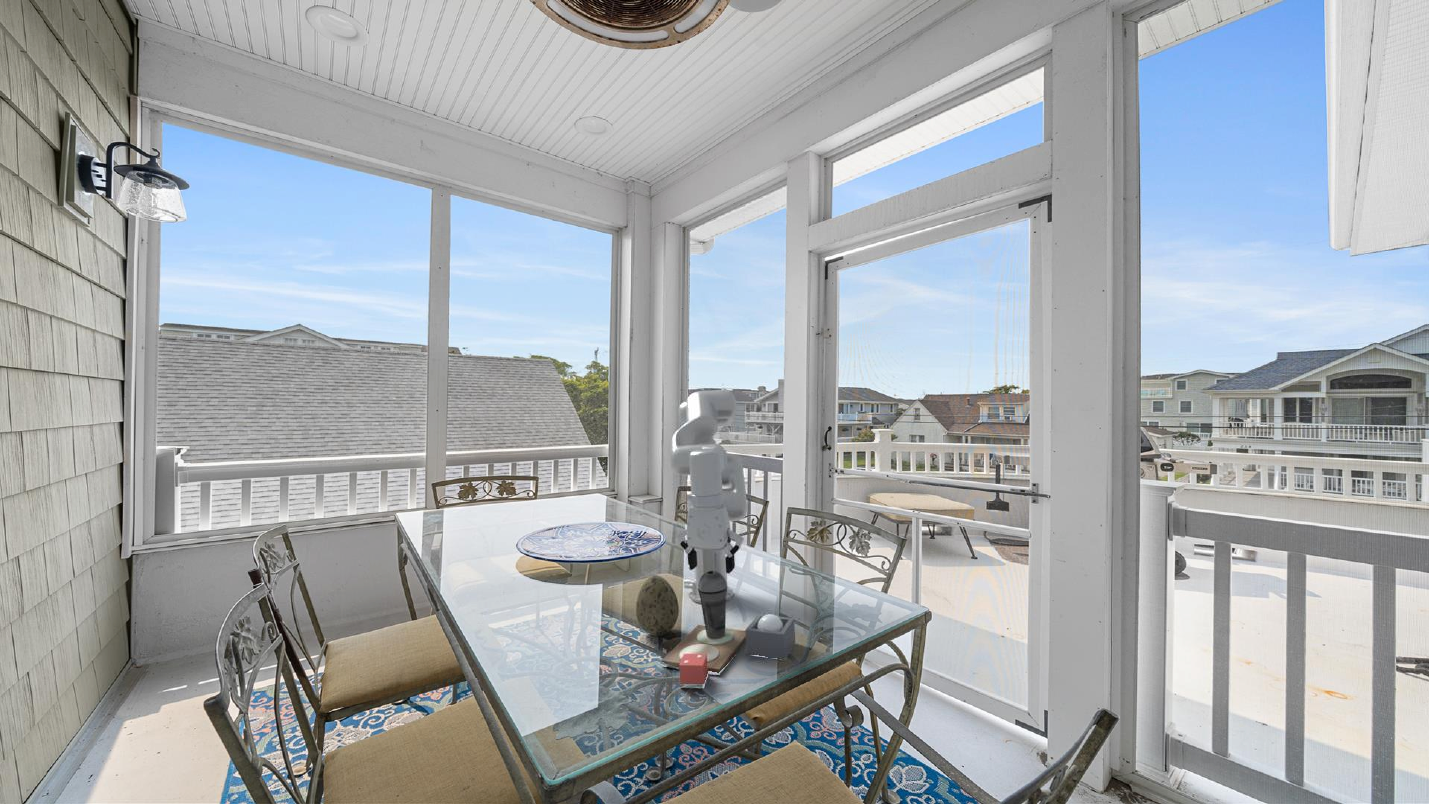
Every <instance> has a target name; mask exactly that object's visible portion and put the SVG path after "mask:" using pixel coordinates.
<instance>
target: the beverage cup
mask: <svg viewBox="0 0 1429 804" xmlns="http://www.w3.org/2000/svg"><path fill="white" fill-rule="evenodd" d="M715 567H716V553H714V565H713V571H708V572H706V573H704V574H703V575H702V577H701V578H700V580H699V584H698V591H699V596H700V599H701V603H700V604H701V609H702V616H703V623H704V626H705V630H706V634H707V637H708V638H710V639H719V638H722V637H724V636H725V628H726V622H727V621H726V616H727V615H726V614H727V613H726V611H727V610H726V609H727V604H726V603H727V601H726V594H727V585H728V583H727V584H726V580H725V578H724V577H723V576H722V575H721V574H720V573H719V572H717V571H715Z"/></svg>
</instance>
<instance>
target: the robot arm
mask: <svg viewBox="0 0 1429 804" xmlns="http://www.w3.org/2000/svg"><path fill="white" fill-rule="evenodd" d="M687 397H688V398H687V399H686V401H684V402H681V404H680V405H679V406H678V419H679V424H680V427H679V428H678V429H677V430H676V432H675V433H674V434H673V436H672V438H671V441H670V455H669V456H670V457H669V458H670V459H669V460H670V461H669V462H670V466H671V469H672V471H673V472H674V474H676V475H678V476H690V491H691V492H690V494H686V495H687V496H686V506H687V507H686V508H687V518H686V529H685V530H683V531H681V532H679V533H678V534H676V538H677V540H678V542H679V543H680V544H679V545H680V546H681V547H682V549H683V550H684V551H685V554H687V565H688V567H689V568H688V569H689V571H693V570H694V580H693V579H684V582H683V586H684V589H691V592H690V599H691V600H692V601H693V602H695V603H698V604H701V599H700V596H699V591H698V584H699V580H700V578H701V577H702V575H703V574H704V573H706V572H708V571H713V565H714V553H716V567H715V571H717V572H719V573H720V574H721V575H722V576H723V577H724V578H725V580H726V584H727V594H726V602H727V601H729V600H731V599H732V598H733V597H734V590H733V589H732V588H731V587H730V586H728V574H730V573H731V572H733V570H734V569H735V568H736V566H735V565H736V564H735V554H736V553H737V552H738V551H739V550H740V549H741V548H742V547H741V546H742V544H743V543H744V541H745V538H744V537H743V536H741V535H740V534H738V533H737V532H735V531H733V530H731V524H730V522H735V521H737V522H738V521H742V520H744V519H745V518H746V517H747V514H748V503H747V502H748V500H747V499H748V498H747V493H746V492H747V491H746V482H745V473H744V467H743V463H742V461H741V458H740V457H739V456H738V455H736V454H728V453H727V451H726V449H725V448H724V446H723V445H721V444H719V443H716V440H715V439H714V436H715V435H716V433H717V431H718V426H729V425H731V424H733V422H734V421H735V419H736V414H737V409H738V408H737V400H736V397H735V395H734V394H733V391H731V390H728V389H715V390H698V391H695V392H693V393H691V394H689V396H687ZM724 487H727V488H724ZM732 540H733V541H735V545H734V546H733V545H732V544H731V542H732Z"/></svg>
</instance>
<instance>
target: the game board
mask: <svg viewBox="0 0 1429 804" xmlns="http://www.w3.org/2000/svg"><path fill="white" fill-rule="evenodd" d="M745 644H746V630H743V629H742V630H741V629H734V628H726V627H725V636H724V637H722V638H719V639H710V638H708V637H707V634H706V630H705V625H701V624H697V625H696V626H695V627H694V628H693V630H691V631H690V632H689V633H688V634H687V635H686V636H685V637H684V638H683V639H682V640H681V641H680V642H679V643H678V644H677V645H676V646H675V647H673V649H672V650H671V651H670V652H669V653H668V654H667V655H666V656H664V657H663V658H662V659H661V663H662V662H664V663H665V664H669V665H672V666H674V667H679V664H680V662H681V660H682V657H683V655H684V654H707V667H708V671H712V672H717V673H719V672H720V671H721V670H722V669H723V668H724V667H725V666H726V665H727V664H728V663H729V662H730V661H731V660H732V661H733V659H734V658H735V657H736V656H737V654H738V653H739V652H740V651H741V649H743V647H744V646H745ZM735 655H736V656H735ZM732 658H733V659H732ZM732 661H731V662H732ZM731 662H730V663H731ZM730 663H729V664H730Z"/></svg>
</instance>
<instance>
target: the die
mask: <svg viewBox="0 0 1429 804" xmlns="http://www.w3.org/2000/svg"><path fill="white" fill-rule="evenodd" d="M707 674H708V667H707V654H684V655H683V657H682V660H681V662H680V664H679V683H680V684H704V683H705V680H706V677H707ZM708 675H709V674H708ZM680 684H679V685H680Z"/></svg>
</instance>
